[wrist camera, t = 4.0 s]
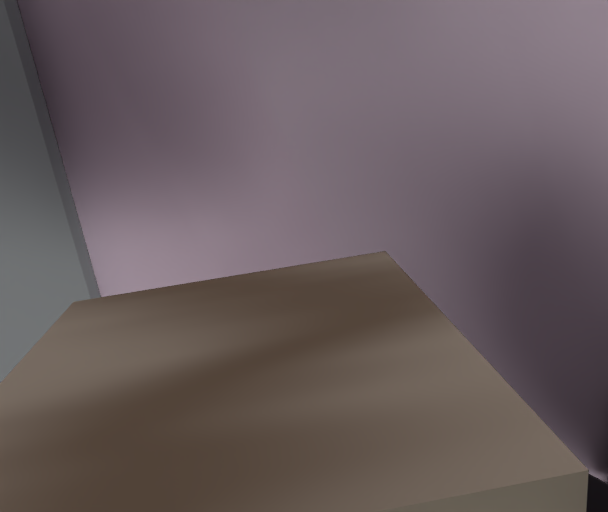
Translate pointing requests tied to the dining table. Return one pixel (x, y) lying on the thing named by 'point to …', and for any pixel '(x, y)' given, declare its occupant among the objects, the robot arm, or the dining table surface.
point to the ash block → (273, 404)
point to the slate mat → (33, 207)
